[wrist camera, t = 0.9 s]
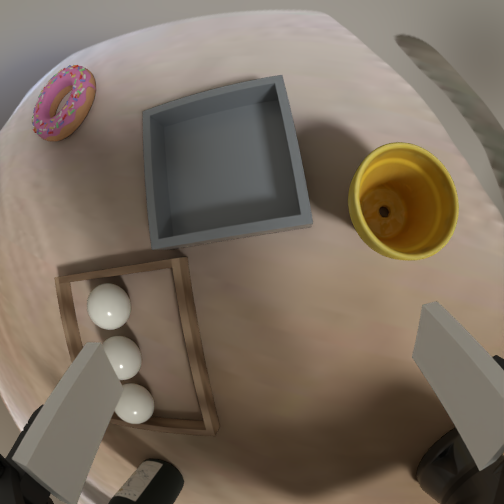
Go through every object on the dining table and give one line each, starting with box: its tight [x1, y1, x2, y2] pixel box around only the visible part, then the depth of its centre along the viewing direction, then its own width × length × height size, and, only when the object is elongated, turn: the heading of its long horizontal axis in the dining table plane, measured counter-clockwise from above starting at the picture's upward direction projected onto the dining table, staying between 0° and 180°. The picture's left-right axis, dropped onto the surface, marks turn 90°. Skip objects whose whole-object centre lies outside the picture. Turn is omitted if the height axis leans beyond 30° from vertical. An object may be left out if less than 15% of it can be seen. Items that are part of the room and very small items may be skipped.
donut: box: [32, 65, 96, 141], centre depth 36 cm, size 14×14×5 cm
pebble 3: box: [114, 383, 154, 424], centre depth 33 cm, size 6×6×6 cm
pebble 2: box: [102, 336, 142, 380], centre depth 33 cm, size 6×6×6 cm
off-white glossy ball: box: [87, 283, 131, 330], centre depth 33 cm, size 6×6×6 cm
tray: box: [55, 257, 220, 436], centre depth 35 cm, size 24×22×2 cm
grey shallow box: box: [143, 75, 313, 250], centre depth 31 cm, size 17×17×5 cm
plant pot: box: [348, 142, 459, 260], centre depth 26 cm, size 10×10×10 cm
